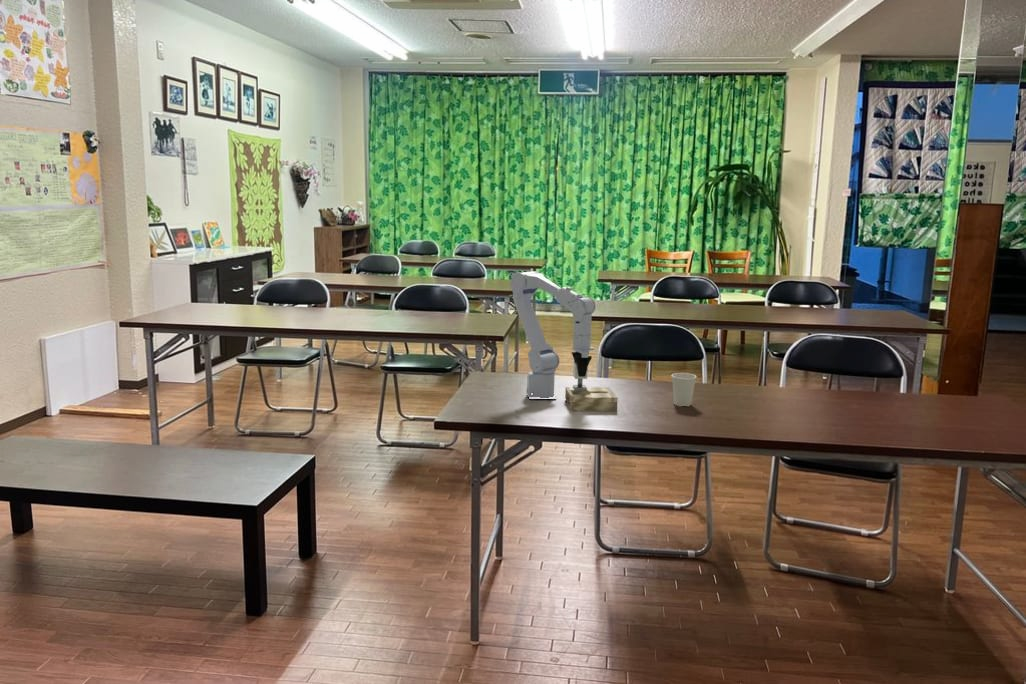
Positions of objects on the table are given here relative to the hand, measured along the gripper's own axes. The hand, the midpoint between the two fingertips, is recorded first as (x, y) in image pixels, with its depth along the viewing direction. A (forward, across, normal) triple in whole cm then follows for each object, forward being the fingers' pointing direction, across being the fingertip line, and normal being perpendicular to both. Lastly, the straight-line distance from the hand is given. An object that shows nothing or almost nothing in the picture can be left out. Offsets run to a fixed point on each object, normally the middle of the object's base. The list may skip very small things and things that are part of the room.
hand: (580, 374), depth 256 cm
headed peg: (+5, 0, 0) cm, 5 cm away
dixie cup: (+11, +1, -35) cm, 37 cm away
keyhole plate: (+10, 0, -4) cm, 11 cm away
